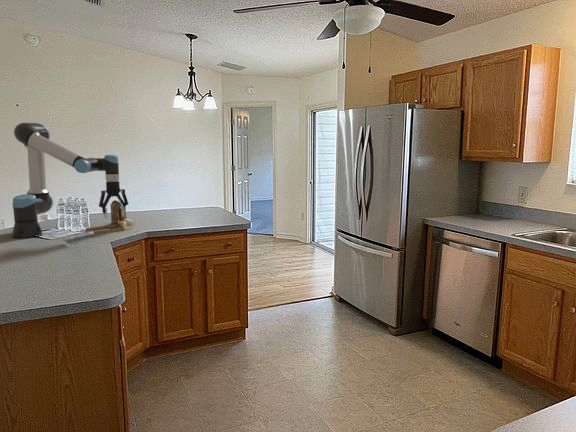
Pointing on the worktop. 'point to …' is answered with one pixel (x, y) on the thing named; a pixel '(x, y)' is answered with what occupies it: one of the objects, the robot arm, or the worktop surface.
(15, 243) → the worktop surface
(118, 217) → the brown animal figurine
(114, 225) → the brown tall block
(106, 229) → the brown wooden tray
